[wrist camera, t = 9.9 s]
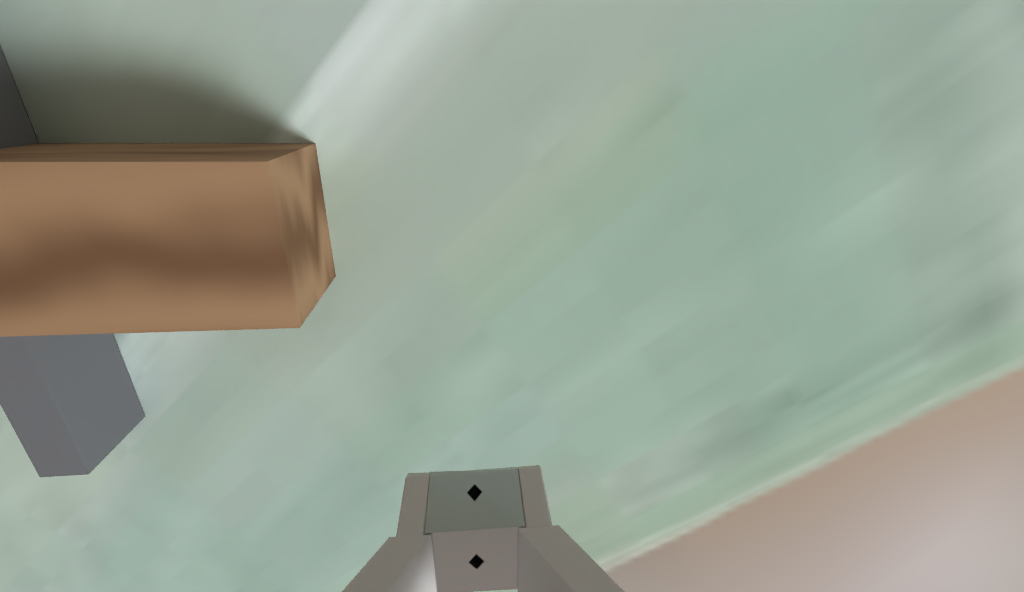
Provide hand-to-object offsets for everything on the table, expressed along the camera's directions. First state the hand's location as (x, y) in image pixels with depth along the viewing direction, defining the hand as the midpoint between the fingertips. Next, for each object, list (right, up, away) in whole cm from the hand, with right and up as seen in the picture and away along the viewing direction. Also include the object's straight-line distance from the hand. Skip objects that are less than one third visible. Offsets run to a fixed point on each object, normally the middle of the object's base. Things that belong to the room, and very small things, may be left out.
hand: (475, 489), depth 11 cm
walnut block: (-20, +10, +20) cm, 30 cm away
